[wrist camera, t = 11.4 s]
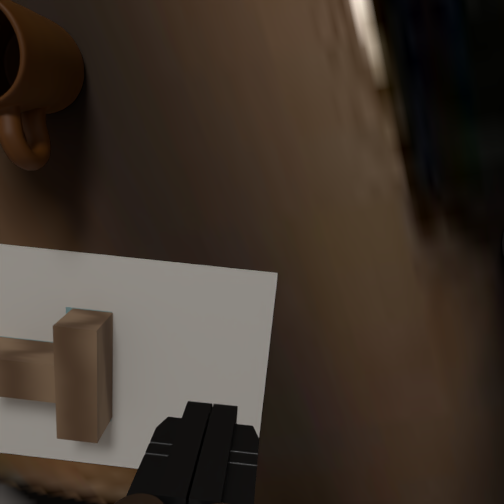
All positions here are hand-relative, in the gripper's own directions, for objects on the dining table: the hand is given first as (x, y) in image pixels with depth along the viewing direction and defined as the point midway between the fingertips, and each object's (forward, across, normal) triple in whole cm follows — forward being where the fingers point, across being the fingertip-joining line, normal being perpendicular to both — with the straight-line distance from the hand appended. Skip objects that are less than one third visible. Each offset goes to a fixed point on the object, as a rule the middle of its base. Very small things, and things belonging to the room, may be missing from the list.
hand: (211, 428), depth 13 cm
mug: (+28, +19, -10) cm, 35 cm away
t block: (+27, +20, +15) cm, 37 cm away
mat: (+28, +14, +16) cm, 35 cm away
